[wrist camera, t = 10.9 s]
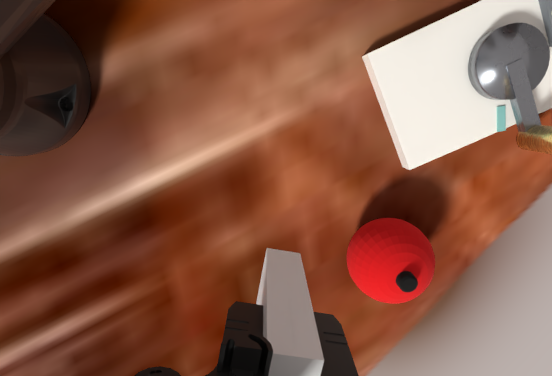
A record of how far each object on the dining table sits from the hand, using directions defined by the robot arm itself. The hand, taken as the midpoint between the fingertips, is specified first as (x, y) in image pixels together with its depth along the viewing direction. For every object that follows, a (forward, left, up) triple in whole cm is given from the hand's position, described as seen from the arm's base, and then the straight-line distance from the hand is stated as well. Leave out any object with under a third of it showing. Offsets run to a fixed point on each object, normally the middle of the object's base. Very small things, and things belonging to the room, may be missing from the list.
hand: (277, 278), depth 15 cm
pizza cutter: (+2, +26, -22) cm, 34 cm away
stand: (-1, +24, -24) cm, 34 cm away
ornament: (+13, +8, -25) cm, 29 cm away
